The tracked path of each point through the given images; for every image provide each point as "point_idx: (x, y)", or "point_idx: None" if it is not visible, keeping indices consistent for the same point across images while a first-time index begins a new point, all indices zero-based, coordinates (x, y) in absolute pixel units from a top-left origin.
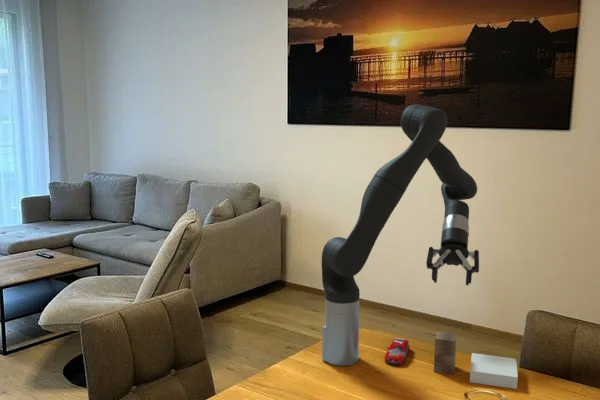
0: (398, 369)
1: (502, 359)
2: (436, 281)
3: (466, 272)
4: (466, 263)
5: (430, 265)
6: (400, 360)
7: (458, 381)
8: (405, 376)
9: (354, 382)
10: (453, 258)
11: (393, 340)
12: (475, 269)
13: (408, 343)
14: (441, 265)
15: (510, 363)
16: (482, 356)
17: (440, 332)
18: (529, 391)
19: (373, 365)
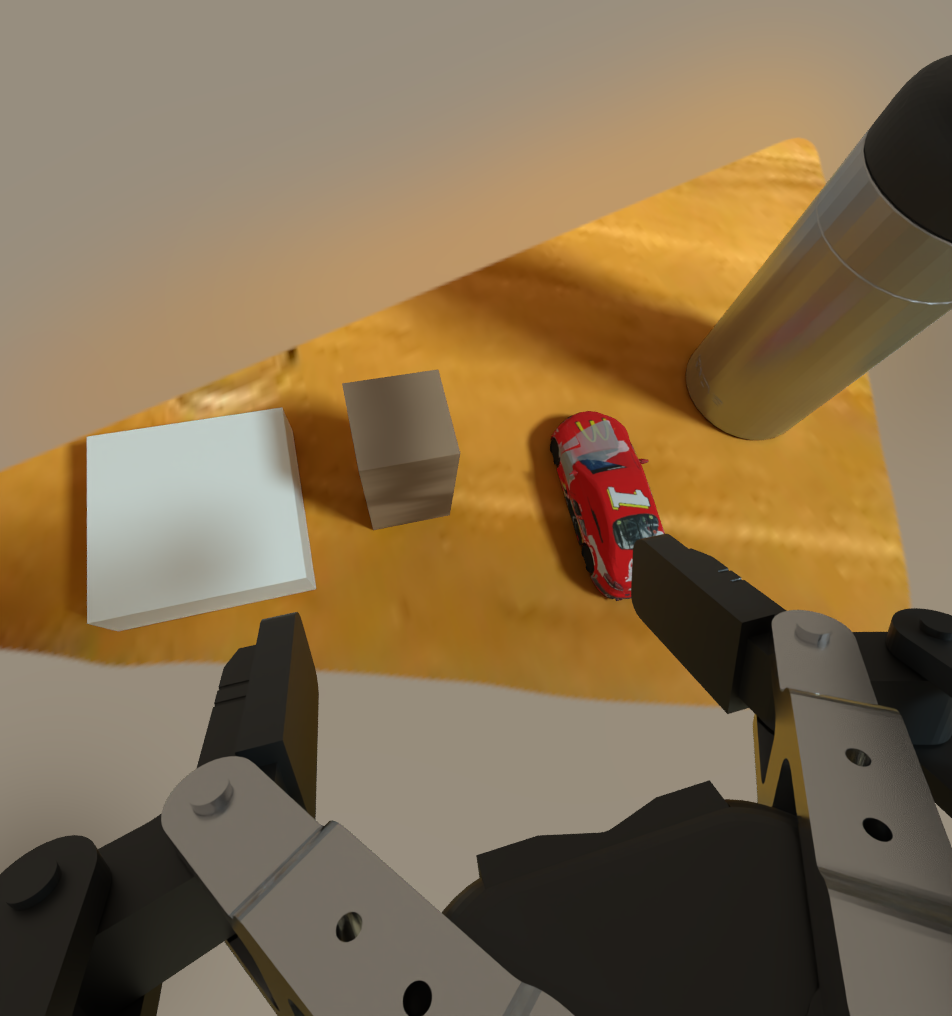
0: (547, 407)
1: (155, 580)
2: (632, 575)
3: (284, 703)
4: (277, 870)
5: (871, 642)
6: (560, 425)
7: (331, 419)
8: (505, 373)
9: (615, 279)
10: (625, 899)
11: (653, 505)
12: (105, 852)
13: (602, 564)
14: (764, 803)
15: (116, 553)
16: (252, 565)
17: (439, 450)
18: (66, 464)
19: (631, 396)
